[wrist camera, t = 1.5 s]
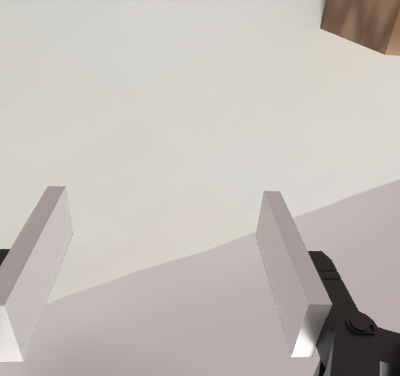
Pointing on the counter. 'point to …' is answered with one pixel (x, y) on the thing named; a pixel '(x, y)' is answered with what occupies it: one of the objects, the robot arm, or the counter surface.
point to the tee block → (365, 23)
